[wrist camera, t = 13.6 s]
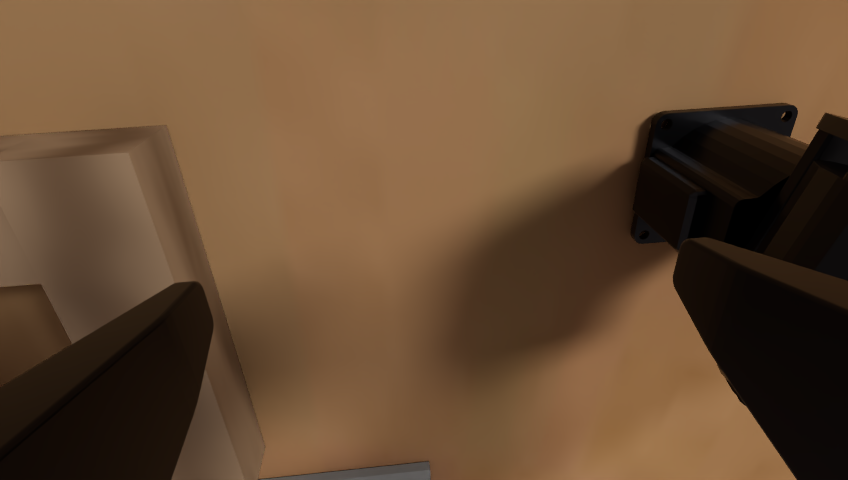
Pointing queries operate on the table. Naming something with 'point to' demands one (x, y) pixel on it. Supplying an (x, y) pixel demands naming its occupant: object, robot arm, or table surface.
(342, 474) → the mat
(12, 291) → the table surface
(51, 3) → the table surface
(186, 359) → the robot arm
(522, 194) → the table surface
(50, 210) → the pocket block
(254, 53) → the table surface
